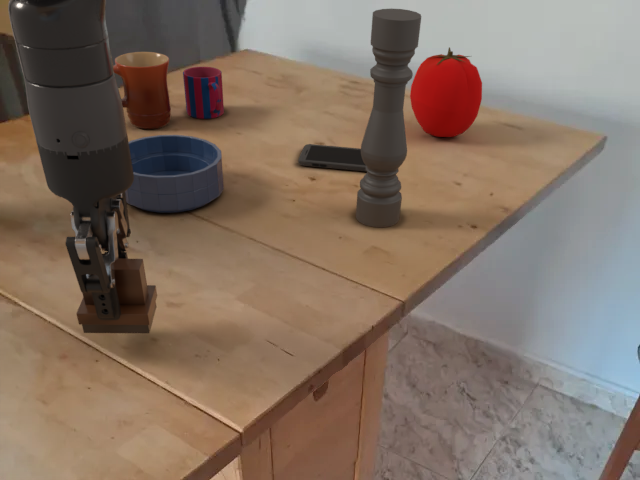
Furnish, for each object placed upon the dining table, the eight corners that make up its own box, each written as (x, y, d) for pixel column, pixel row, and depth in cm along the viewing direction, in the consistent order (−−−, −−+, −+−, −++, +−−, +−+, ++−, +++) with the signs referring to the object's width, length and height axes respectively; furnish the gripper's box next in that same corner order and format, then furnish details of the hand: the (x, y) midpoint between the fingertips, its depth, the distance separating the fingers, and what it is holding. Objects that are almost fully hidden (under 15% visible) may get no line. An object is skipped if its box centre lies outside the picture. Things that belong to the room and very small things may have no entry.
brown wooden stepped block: (81, 334, 69) (67, 277, 65) (92, 304, 73) (80, 249, 69) (151, 335, 70) (141, 278, 65) (158, 305, 74) (150, 250, 69)
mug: (168, 112, 124) (161, 49, 117) (182, 129, 118) (175, 64, 111) (101, 120, 120) (90, 55, 113) (112, 137, 115) (100, 71, 108)
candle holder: (372, 231, 93) (391, 23, 76) (346, 213, 97) (359, 11, 80) (408, 221, 96) (434, 17, 79) (382, 203, 100) (402, 6, 82)
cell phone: (384, 173, 107) (385, 168, 107) (297, 165, 108) (297, 160, 108) (388, 155, 112) (388, 150, 112) (304, 147, 114) (304, 143, 113)
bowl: (95, 199, 98) (87, 161, 94) (162, 163, 107) (157, 127, 104) (182, 226, 93) (177, 186, 89) (243, 185, 102) (242, 148, 99)
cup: (217, 104, 128) (215, 65, 123) (234, 123, 121) (232, 81, 117) (182, 108, 126) (178, 68, 121) (197, 127, 119) (194, 85, 115)
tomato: (461, 152, 115) (476, 66, 106) (394, 137, 119) (403, 53, 110) (485, 131, 122) (500, 49, 113) (421, 117, 126) (431, 37, 117)
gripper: (57, 102, 63) (93, 265, 75) (10, 164, 53) (60, 343, 64) (139, 104, 64) (162, 266, 75) (109, 166, 53) (141, 343, 65)
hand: (115, 300), depth 70 cm, fingers closed on brown wooden stepped block, 5 cm apart
